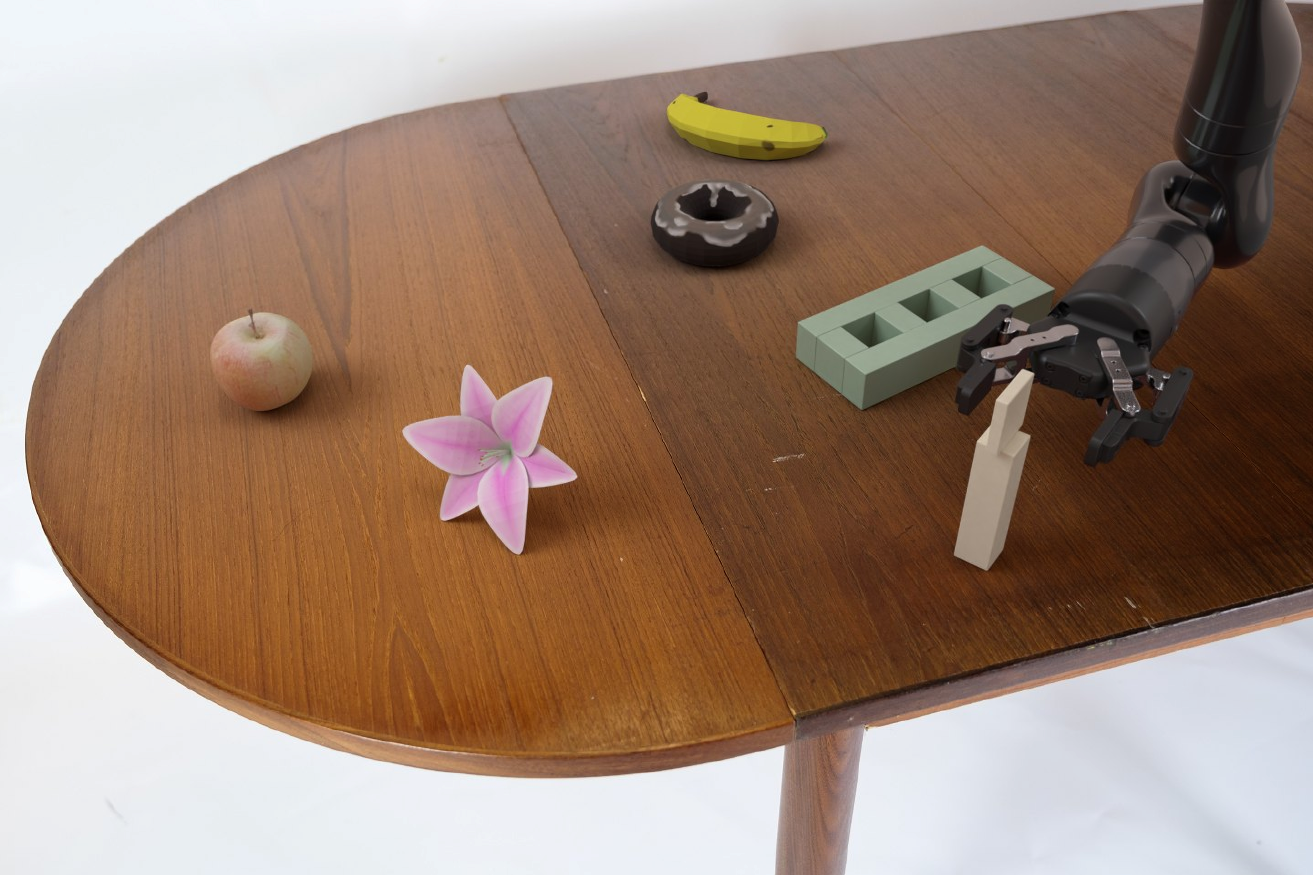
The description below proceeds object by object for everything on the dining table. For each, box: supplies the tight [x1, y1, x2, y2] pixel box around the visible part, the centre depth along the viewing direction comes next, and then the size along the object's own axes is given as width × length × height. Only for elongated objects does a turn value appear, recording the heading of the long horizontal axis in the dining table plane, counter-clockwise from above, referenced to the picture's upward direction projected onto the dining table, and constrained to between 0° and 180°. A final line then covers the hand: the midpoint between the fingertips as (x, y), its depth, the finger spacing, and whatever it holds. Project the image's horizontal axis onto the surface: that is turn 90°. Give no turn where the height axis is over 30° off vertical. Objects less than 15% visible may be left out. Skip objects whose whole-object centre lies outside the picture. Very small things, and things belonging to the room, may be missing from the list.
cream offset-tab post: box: [953, 369, 1034, 572], centre depth 70 cm, size 2×4×14 cm, turn 142°
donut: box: [650, 178, 780, 267], centre depth 104 cm, size 12×12×4 cm
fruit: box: [209, 308, 314, 412], centre depth 87 cm, size 8×7×8 cm
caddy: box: [795, 244, 1056, 411], centre depth 91 cm, size 8×20×4 cm, turn 122°
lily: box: [401, 364, 578, 556], centre depth 78 cm, size 12×12×10 cm
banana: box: [666, 91, 828, 161], centre depth 121 cm, size 5×17×15 cm
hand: (1025, 429), depth 71 cm, fingers open, 8 cm apart
